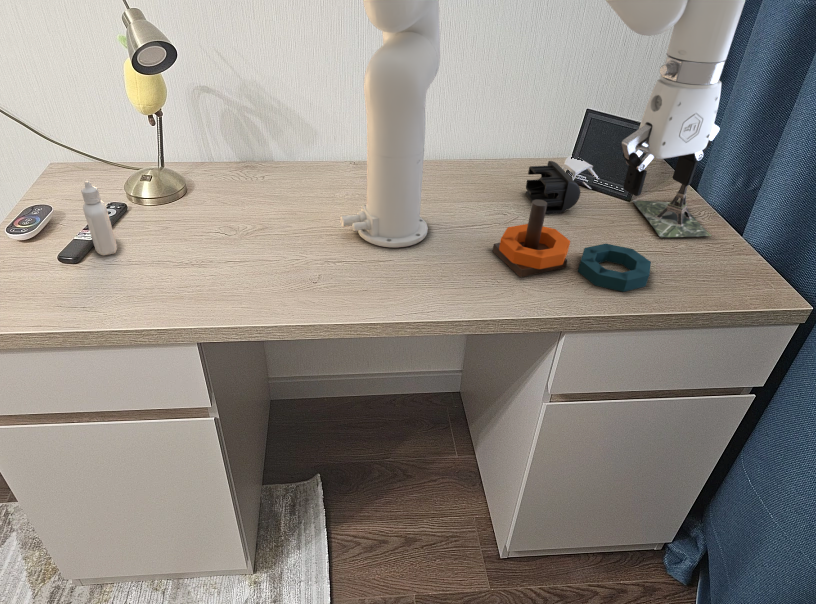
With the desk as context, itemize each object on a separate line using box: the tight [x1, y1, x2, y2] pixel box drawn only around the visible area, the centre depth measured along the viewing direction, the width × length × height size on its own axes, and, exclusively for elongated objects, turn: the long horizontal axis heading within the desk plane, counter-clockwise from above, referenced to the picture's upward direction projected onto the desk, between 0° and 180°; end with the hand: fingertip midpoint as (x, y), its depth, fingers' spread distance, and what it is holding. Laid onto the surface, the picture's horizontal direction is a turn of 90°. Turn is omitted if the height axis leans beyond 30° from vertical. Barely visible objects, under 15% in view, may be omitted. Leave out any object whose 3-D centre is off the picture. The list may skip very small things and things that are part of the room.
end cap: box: [524, 160, 581, 215], centre depth 120 cm, size 10×7×7 cm
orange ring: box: [499, 223, 571, 269], centre depth 103 cm, size 11×11×2 cm
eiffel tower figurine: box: [631, 184, 713, 238], centre depth 114 cm, size 15×10×13 cm
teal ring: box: [577, 243, 652, 293], centre depth 101 cm, size 11×11×2 cm
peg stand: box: [492, 200, 568, 278], centre depth 101 cm, size 9×9×10 cm
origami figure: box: [561, 153, 600, 190], centre depth 128 cm, size 12×8×5 cm
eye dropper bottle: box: [81, 180, 118, 256], centre depth 100 cm, size 4×6×12 cm
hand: (656, 187), depth 95 cm, fingers open, 9 cm apart
